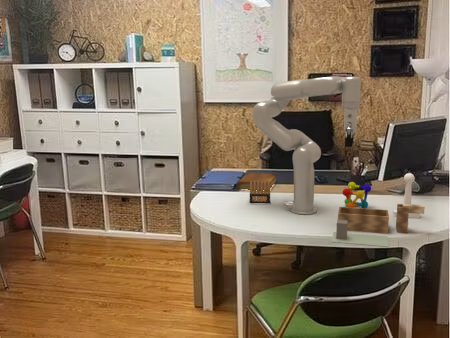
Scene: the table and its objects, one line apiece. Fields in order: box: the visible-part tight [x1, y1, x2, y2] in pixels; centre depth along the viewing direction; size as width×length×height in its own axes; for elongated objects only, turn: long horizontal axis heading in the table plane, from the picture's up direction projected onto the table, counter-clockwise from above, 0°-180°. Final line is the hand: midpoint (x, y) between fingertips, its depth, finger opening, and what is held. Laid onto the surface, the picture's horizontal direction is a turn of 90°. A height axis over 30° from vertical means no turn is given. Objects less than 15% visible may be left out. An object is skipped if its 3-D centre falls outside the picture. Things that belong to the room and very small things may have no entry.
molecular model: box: [342, 181, 372, 209], centre depth 218 cm, size 15×12×15 cm
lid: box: [331, 219, 390, 248], centre depth 177 cm, size 21×11×7 cm, turn 74°
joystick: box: [392, 172, 421, 219], centre depth 205 cm, size 11×8×20 cm
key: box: [402, 203, 426, 215], centre depth 184 cm, size 8×2×3 cm, turn 73°
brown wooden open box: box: [337, 203, 409, 234], centre depth 189 cm, size 28×10×11 cm, turn 73°
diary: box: [236, 172, 278, 190], centre depth 265 cm, size 23×19×6 cm
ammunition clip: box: [249, 181, 271, 204], centre depth 229 cm, size 11×2×12 cm, turn 84°
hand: (349, 144), depth 199 cm, fingers open, 9 cm apart
